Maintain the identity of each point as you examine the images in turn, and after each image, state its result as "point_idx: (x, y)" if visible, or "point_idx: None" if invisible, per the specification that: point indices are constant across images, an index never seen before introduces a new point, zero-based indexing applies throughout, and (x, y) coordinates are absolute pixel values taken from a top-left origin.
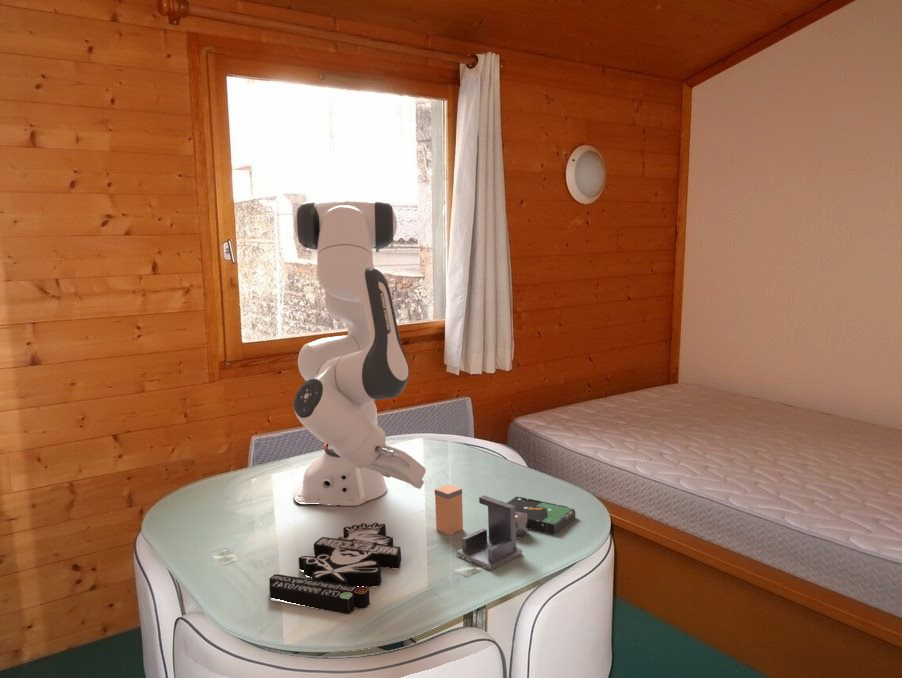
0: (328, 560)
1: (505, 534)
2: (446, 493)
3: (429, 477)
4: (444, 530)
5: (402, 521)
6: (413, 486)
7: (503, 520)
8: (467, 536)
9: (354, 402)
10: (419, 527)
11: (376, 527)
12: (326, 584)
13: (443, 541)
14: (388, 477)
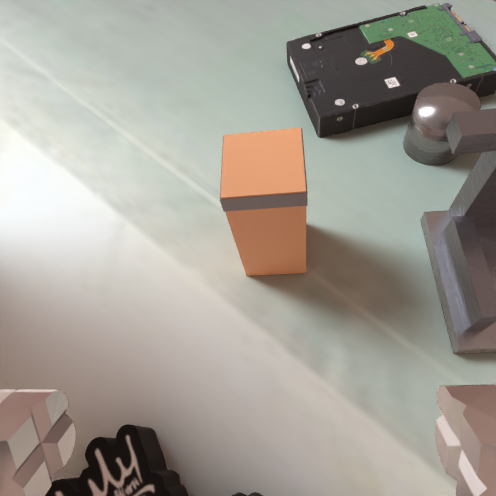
0: None
1: None
2: (295, 191)
3: (4, 103)
4: (283, 270)
5: (118, 310)
6: (452, 473)
7: None
8: (483, 294)
9: None
10: (193, 301)
11: (123, 474)
12: None
13: (329, 313)
14: (71, 451)
